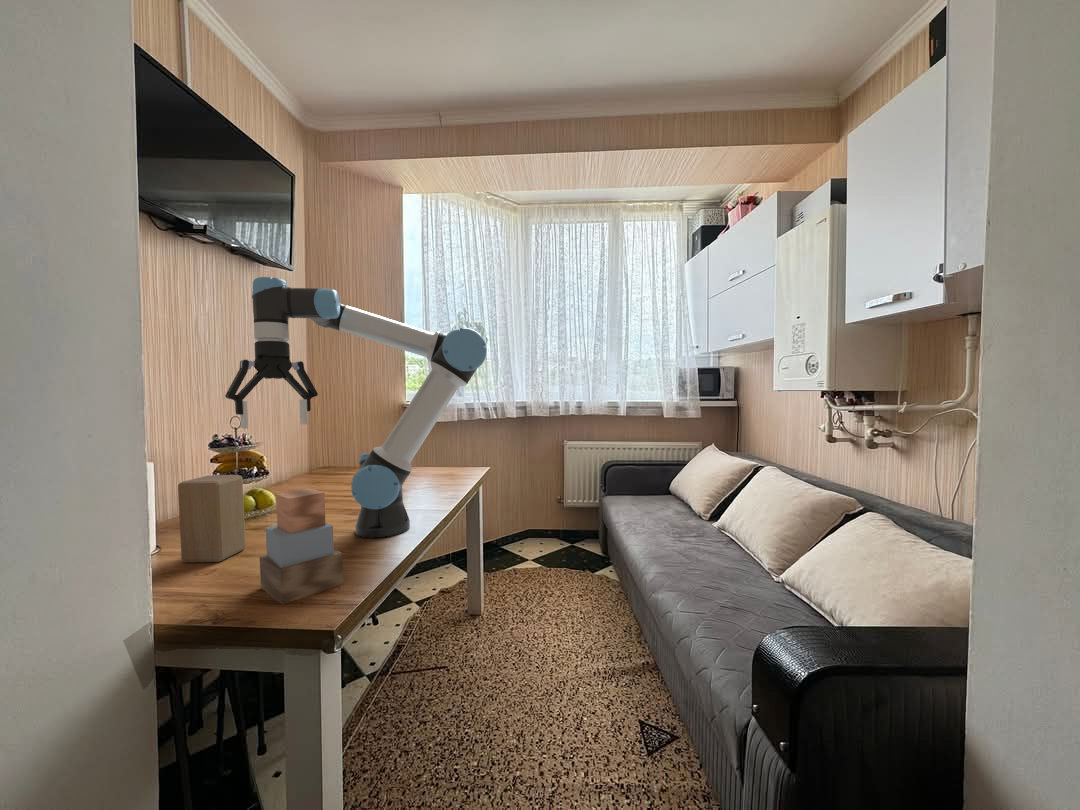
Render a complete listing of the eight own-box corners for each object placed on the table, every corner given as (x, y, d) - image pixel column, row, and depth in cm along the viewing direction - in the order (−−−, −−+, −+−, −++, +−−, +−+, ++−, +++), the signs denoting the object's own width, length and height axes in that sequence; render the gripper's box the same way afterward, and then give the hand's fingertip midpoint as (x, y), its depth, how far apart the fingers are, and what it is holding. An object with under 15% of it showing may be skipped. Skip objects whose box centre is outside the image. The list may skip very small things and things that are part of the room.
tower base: (319, 571, 104) (318, 541, 104) (343, 585, 96) (342, 552, 96) (261, 589, 95) (259, 556, 95) (282, 606, 87) (280, 570, 87)
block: (210, 549, 120) (207, 474, 119) (247, 549, 120) (244, 474, 119) (179, 564, 110) (175, 482, 109) (219, 563, 110) (215, 481, 109)
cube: (311, 519, 100) (310, 488, 100) (325, 525, 96) (324, 492, 96) (277, 526, 95) (276, 493, 95) (289, 533, 90) (288, 498, 90)
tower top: (317, 543, 102) (315, 517, 102) (333, 554, 95) (332, 525, 95) (266, 555, 95) (265, 527, 95) (281, 568, 88) (279, 537, 88)
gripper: (317, 345, 125) (320, 422, 125) (207, 339, 106) (211, 429, 107) (329, 343, 120) (332, 423, 120) (216, 336, 101) (220, 430, 102)
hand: (275, 426), depth 114 cm, fingers open, 13 cm apart
